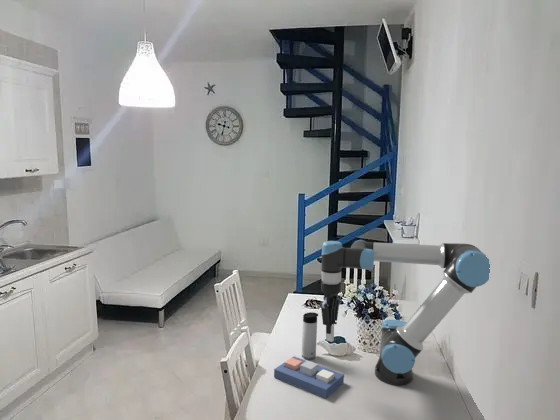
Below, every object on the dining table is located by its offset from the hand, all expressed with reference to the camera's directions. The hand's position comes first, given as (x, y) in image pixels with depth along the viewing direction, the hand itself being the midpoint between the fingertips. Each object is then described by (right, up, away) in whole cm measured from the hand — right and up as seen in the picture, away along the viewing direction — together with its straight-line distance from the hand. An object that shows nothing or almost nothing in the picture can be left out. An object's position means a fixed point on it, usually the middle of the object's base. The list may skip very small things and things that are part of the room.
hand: (329, 340), depth 167 cm
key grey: (-8, -14, +4) cm, 17 cm away
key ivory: (-2, -16, 0) cm, 16 cm away
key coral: (-14, -15, +9) cm, 22 cm away
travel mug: (-6, -15, +24) cm, 29 cm away
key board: (-8, -17, +5) cm, 20 cm away
